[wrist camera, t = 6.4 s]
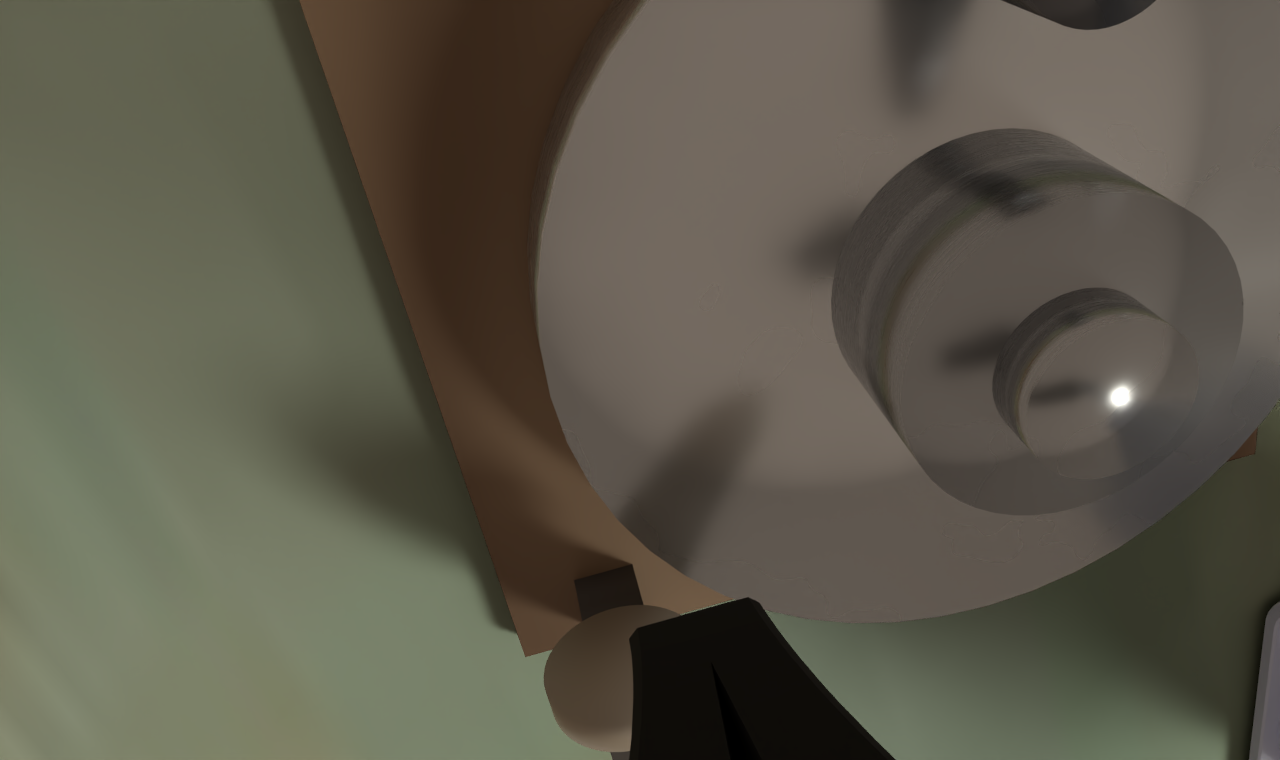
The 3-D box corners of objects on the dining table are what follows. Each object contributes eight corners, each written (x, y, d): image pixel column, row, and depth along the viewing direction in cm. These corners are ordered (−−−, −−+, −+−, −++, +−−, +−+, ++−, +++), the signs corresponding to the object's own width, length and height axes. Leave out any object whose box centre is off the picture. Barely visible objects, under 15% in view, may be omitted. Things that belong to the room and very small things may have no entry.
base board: (1319, -458, 16) (1664, -541, 12) (1236, 438, 24) (1422, 591, 20) (234, -207, 15) (161, -194, 11) (523, 637, 23) (549, 844, 19)
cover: (1128, 92, 17) (1312, 176, 14) (1122, 370, 19) (1275, 502, 16) (813, 175, 17) (917, 281, 13) (848, 446, 19) (943, 596, 16)
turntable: (1346, -303, 16) (1754, -332, 11) (1264, 461, 24) (1494, 650, 19) (419, -81, 16) (424, -6, 11) (621, 640, 23) (680, 887, 18)
